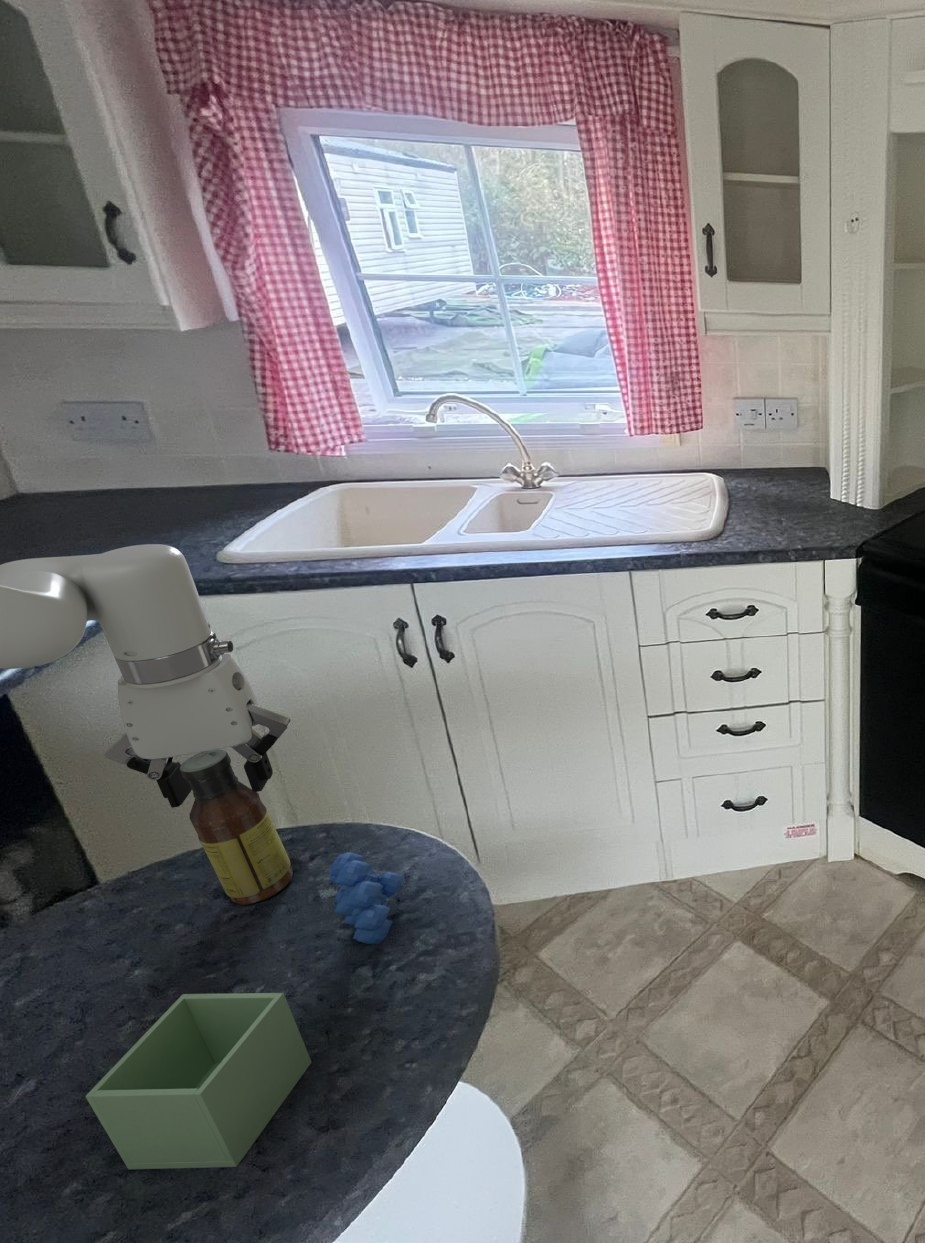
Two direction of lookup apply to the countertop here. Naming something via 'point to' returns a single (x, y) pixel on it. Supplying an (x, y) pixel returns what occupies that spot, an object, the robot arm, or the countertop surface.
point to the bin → (202, 1081)
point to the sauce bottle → (235, 830)
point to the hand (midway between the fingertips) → (222, 790)
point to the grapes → (363, 896)
